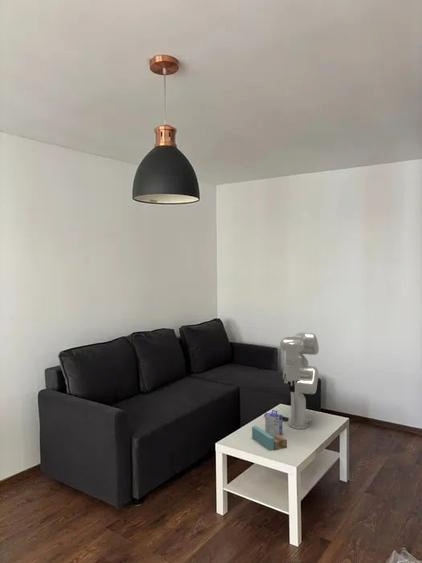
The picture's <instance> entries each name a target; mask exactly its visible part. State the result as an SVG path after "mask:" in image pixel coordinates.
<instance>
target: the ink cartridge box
mask: <svg viewBox="0 0 422 563" xmlns="http://www.w3.org/2000/svg"><path fill="white" fill-rule="evenodd" d="M264 418H265V424H264V426H265V428H264V429H265V430H264V431H265V432H266V433H268V434H270V435H271V436H275V435H281V436H282V435H283V414H278V410H274V409H273V410H272V411H271V412H268V413H266V414H265V416H264Z"/></svg>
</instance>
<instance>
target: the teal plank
mask: <svg viewBox="0 0 422 563" xmlns="http://www.w3.org/2000/svg"><path fill="white" fill-rule="evenodd" d="M273 436H274V435H270V434H268V433H266V432H265V430H263V429H262V428H260V427H259V426H257V425H253V426H251V437H252V440H254V441H256V442H257V443H259V444H260V445H261V446H263V447H265V448H266V449H267V450H269V451H275V450H274V437H273Z"/></svg>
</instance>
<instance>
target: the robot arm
mask: <svg viewBox="0 0 422 563" xmlns="http://www.w3.org/2000/svg"><path fill="white" fill-rule="evenodd" d="M279 346H280V350H282V351H284V352H285V363H284V365H283V370H282V380H284V381H283V383H284V384H287V385H288V388H289V391H288V392H290V414H291V415H290V421H289V423H288V426H289V427H290V428H292V429H297V430H303V429H307V428H308V427H309V422H312V421H313V419H312V418H311V417H309V418H308V417H307V415H306V414H307V412H306V411H307V406H306V405H307V402H306V401H307V400H306V397H305V395H304V394H306V395H315V394H316V392H317V388H318V382H319V381H318V380H319V370H318V368H317V367H316V366H312V365H309V360H308V359H307V358H306V356H304V355H309V356H316V355H318V354H319V350H320V348H319V347H320V346H319V343H318V338H317V336H316V334H315V333H312V332H298V333H296V334H295V335H291V336H284V337H283V338H282V339H281V341H280V344H279Z"/></svg>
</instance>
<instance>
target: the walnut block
mask: <svg viewBox="0 0 422 563" xmlns="http://www.w3.org/2000/svg"><path fill="white" fill-rule="evenodd" d="M272 436H273V437H274V450H273V451H278V450H282V449H287V448H288V440H287V438H285V437H284V436H282V435H275V436H274V435H272Z"/></svg>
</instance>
